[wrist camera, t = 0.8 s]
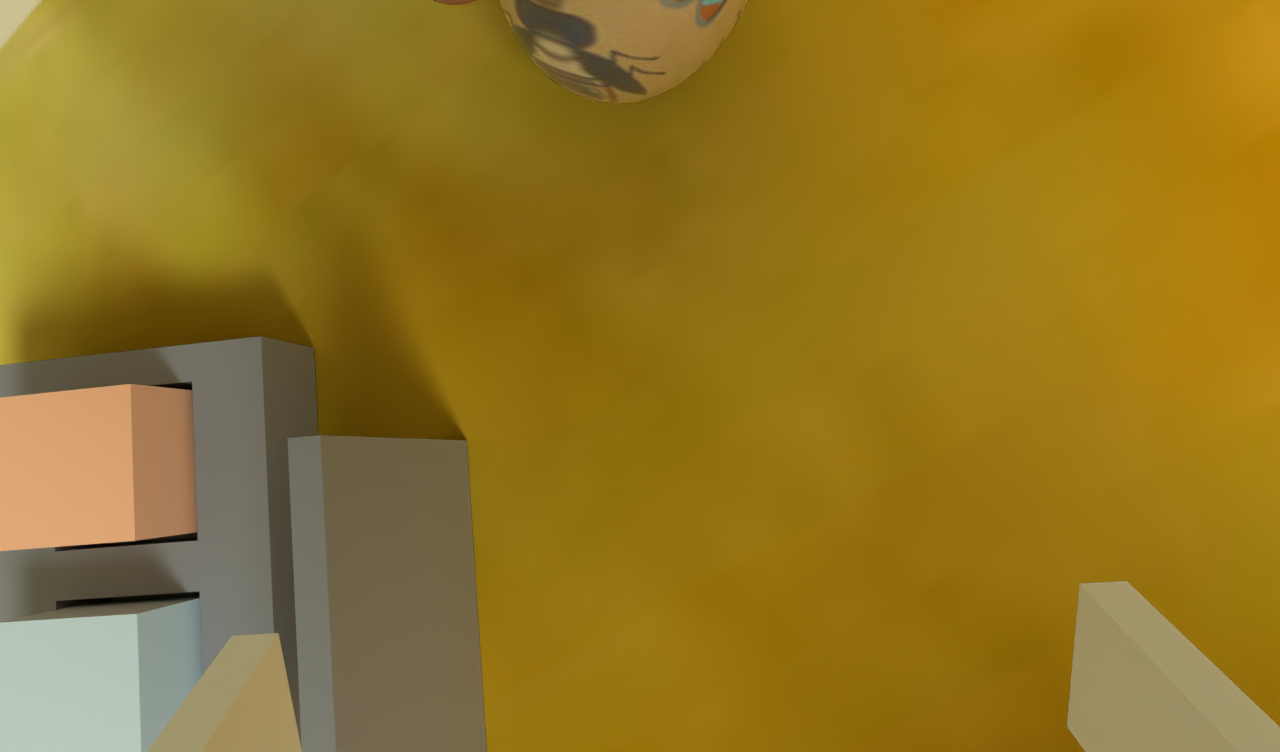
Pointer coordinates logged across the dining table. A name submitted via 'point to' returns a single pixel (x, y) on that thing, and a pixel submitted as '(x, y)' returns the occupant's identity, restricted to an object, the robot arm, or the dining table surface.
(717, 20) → the ceramic vessel
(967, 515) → the dining table surface
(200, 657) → the slate key
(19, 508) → the terracotta key
